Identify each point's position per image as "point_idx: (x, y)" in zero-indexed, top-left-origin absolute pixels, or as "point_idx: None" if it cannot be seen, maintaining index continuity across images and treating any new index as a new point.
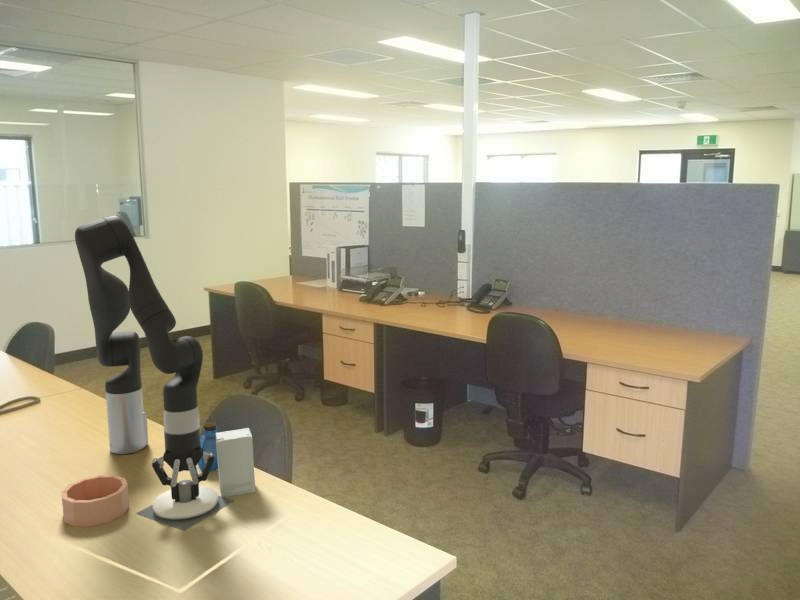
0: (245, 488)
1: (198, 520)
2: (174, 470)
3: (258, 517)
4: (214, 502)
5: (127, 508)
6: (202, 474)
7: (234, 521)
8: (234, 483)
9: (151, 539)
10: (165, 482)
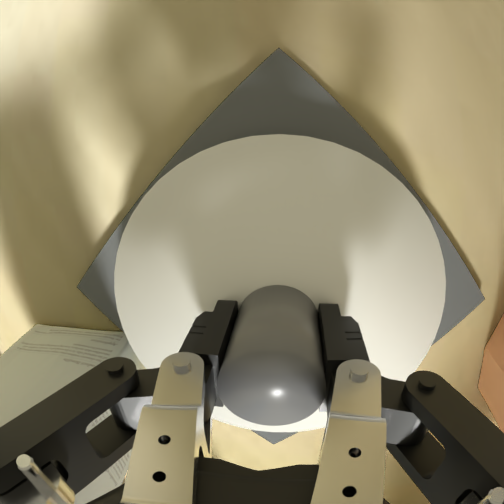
0: (45, 338)
1: (209, 133)
2: (366, 475)
3: (6, 146)
4: (121, 242)
5: (498, 339)
6: (109, 395)
7: (67, 124)
8: (57, 358)
9: (427, 53)
10: (424, 384)
